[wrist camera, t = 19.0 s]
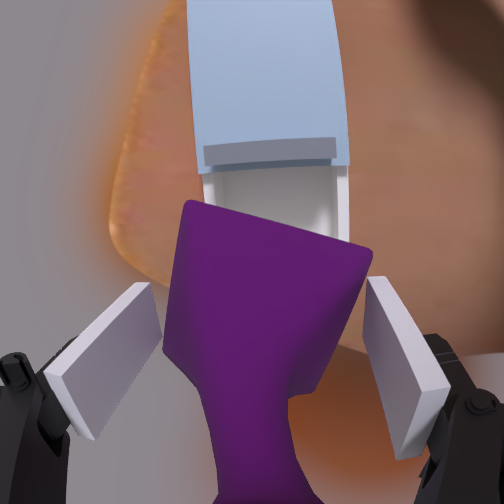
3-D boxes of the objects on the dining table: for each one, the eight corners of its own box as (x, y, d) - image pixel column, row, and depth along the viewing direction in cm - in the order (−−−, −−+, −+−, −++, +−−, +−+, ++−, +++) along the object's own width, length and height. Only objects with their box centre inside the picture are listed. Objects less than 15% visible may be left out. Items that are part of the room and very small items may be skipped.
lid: (189, -2, 22) (176, -18, 19) (326, -16, 20) (330, -35, 17) (200, 173, 28) (187, 177, 24) (348, 165, 26) (356, 167, 22)
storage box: (208, 102, 30) (195, 96, 26) (334, 93, 28) (341, 84, 24) (223, 267, 35) (214, 283, 31) (341, 263, 34) (348, 279, 29)
